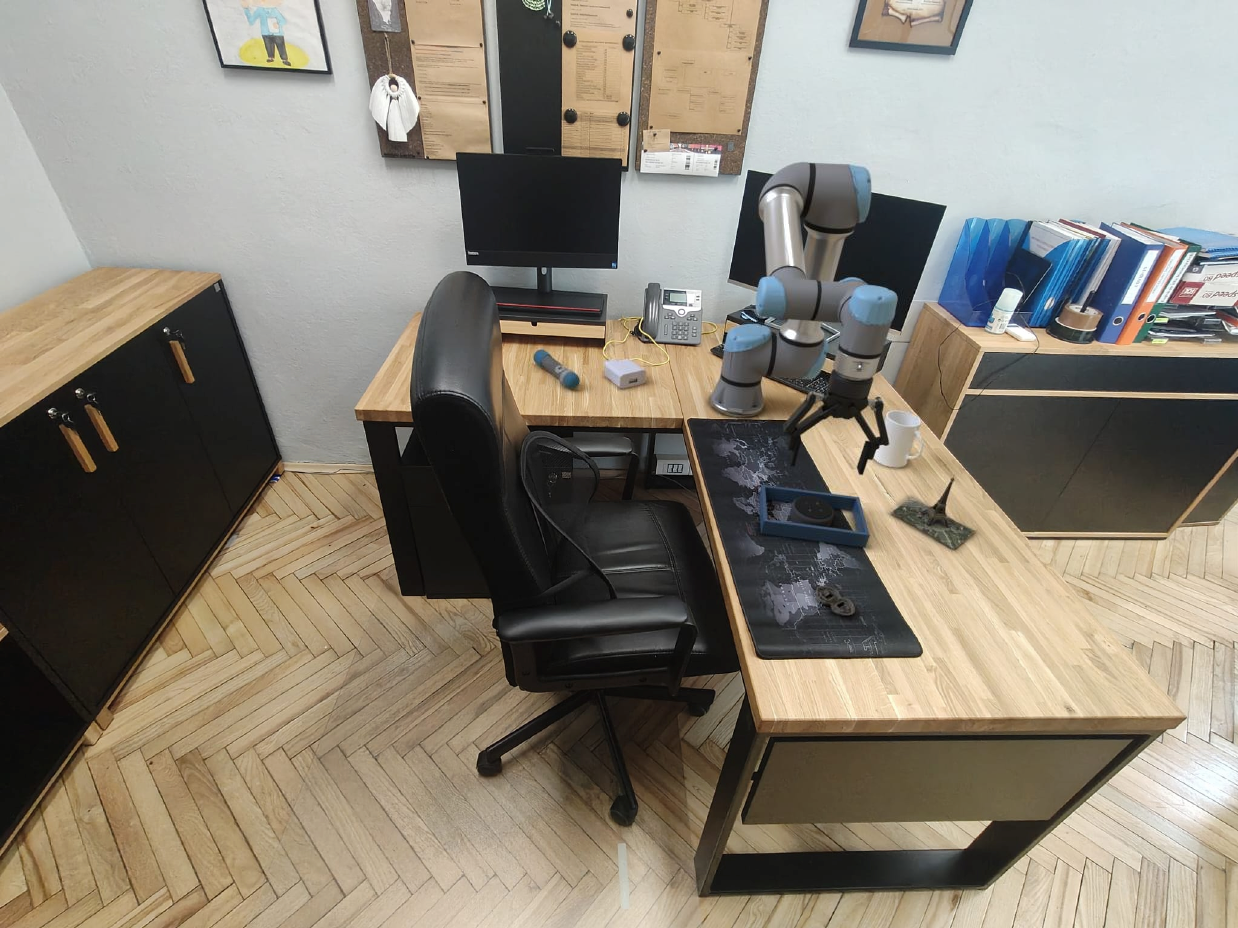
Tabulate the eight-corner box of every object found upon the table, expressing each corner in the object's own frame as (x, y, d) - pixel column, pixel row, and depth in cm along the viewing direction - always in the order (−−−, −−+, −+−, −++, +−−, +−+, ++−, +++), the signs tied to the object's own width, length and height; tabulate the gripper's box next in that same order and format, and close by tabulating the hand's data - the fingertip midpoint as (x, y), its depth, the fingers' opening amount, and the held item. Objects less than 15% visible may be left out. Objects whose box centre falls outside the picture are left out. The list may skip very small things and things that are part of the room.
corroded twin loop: (842, 623, 107) (844, 619, 106) (808, 594, 112) (809, 591, 111) (860, 611, 109) (861, 607, 108) (825, 584, 114) (826, 580, 114)
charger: (620, 364, 192) (645, 383, 182) (595, 370, 188) (619, 389, 178) (620, 350, 189) (646, 369, 179) (595, 356, 185) (620, 375, 175)
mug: (923, 471, 148) (940, 430, 141) (897, 477, 146) (913, 436, 139) (890, 447, 157) (904, 407, 150) (864, 452, 154) (878, 412, 148)
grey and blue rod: (547, 362, 191) (546, 347, 188) (582, 389, 177) (582, 374, 174) (533, 365, 189) (532, 350, 186) (568, 393, 174) (567, 378, 172)
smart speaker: (781, 520, 130) (785, 506, 128) (801, 503, 135) (805, 489, 133) (818, 540, 125) (822, 525, 123) (837, 521, 131) (841, 507, 128)
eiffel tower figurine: (888, 514, 133) (907, 465, 126) (911, 498, 139) (930, 450, 131) (953, 551, 124) (978, 501, 116) (975, 532, 130) (1000, 483, 122)
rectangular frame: (758, 496, 137) (761, 484, 135) (854, 509, 135) (859, 496, 133) (760, 533, 126) (763, 520, 124) (865, 547, 124) (870, 535, 122)
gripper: (786, 374, 108) (765, 469, 120) (928, 389, 105) (892, 485, 117) (783, 357, 114) (763, 449, 126) (917, 371, 112) (884, 464, 124)
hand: (825, 467), depth 122 cm, fingers open, 13 cm apart
